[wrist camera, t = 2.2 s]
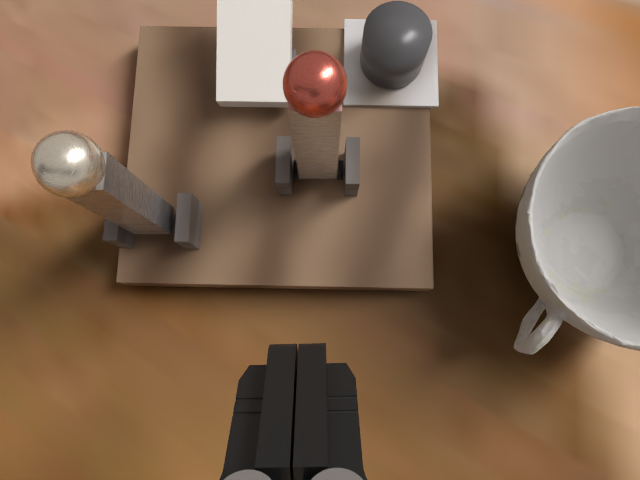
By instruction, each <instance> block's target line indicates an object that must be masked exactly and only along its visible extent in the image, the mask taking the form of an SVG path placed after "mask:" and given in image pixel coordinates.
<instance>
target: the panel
mask: <svg viewBox="0 0 640 480" xmlns="http://www.w3.org/2000/svg"><path fill="white" fill-rule="evenodd" d="M365 21H366V19H345V21H344V29H323V28H292V60H293V59H294V58H295V57H296V56H297V55H299V54H301V53H303V52H305V51H310V50H320V51H324V52H327V53H329V54H331V55H333V56H334V57H335V58H337V59H338V61H339V62H340V63H341V64H342V66H343V68H344V70H345V72H346V75H347V83H348V87H347V93H346V96H345V99H344V101H343V102H342V115H341V128H340V141H339V154H338V160H343V180H304V179H293V160H294V159H296V155H295V149H294V143H293V137H292V131H291V125H290V118H289V112H288V108H280V107H221V106H220V105H219V104H218V103H217V102H216V61H217V27H166V26H140V36H139V46H138V57H137V68H136V78H135V89H134V99H133V110H132V120H131V131H130V142H129V152H128V163H127V169H128V170H129V171H131V172H132V173H133V174H134V175H135V176H137V177H138V178H139V179H140V180H141V181H143V182H144V183H145V184H146V185H147V186H148V187H150V188H151V189H152V190H153V191H154V192H156V193H157V194H158V195H159V196H160V197H162V198H163V199H164V200H165V201H166V202H168V203H169V204H170V205H171V206H172V207H174V212H173V214H176V222H175V234H172V235H169V234H133V233H131V232H130V231H128V230H126V229H124V228H122V227H120V226H118V225H116V224H114V223H112V222H111V221H109V220H107V219H105V221H104V230H103V241H106V242H108V243H110V244H113V245H115V246H118V247H119V258H118V269H117V279H116V283H120V284H124V285H128V286H175V287H227V288H279V289H331V290H384V291H429V290H431V289H434V284H433V238H432V191H431V145H430V108H438V106H439V101H438V61H437V21H436V20H430V22H431V25H432V31H433V35H432V41H431V44H430V46H429V49H428V52H427V55H426V57H425V60H424V63H423V66H422V68H421V71H420V73H419V75H418V76H417V78H416V79H415V80H414V81H412V82H411V83H410V84H408V85H406V86H404V87H401V88H396V89H389V88H383V87H380V86H378V85H376V84H374V83H372V82H371V81H370V80H369V79H368V78H367V77H366V76H365V74H364V73H363V71H362V68H361V65H360V53H361V45H362V38H363V30H364V24H365Z"/></svg>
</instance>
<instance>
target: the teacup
mask: <svg viewBox="0 0 640 480" xmlns="http://www.w3.org/2000/svg"><path fill="white" fill-rule="evenodd" d="M516 246H517V252H518V257H519V260H520V263H521V266H522V269H523V271H524V273H525V276H526V278H527V280H528V281H529V283H530V285H531V286H532V288H533V289H534V291H535V292H536V293H537V295H538V296H539V298H538V300H537V302H536V303H535V305H534V306H533V307H532V308H531V309H530V310H529V311H528V312H527V314H526V315H525V317H524V318H523V320H522V323H521V326H520V329H519V333H518V335H517V338H516V340H515V343H514V349H515V350H517V351H518V352H521V353H525V354H534V353H536V352H537V351H538V350H540V349H541V348H542V347H543V346H544V345H546V344H547V343H548V342H549V341H550V339H551V338H552V337H553V335H554V334H555V333H556V331H557V330H558V329H559V327H560V326H561V324H562V321H563V320H564V321H565V322H567V323H569V324H570V325H572V326H573V327H575V328H577V329H579V330H581V331H582V332H584V333H586V334H588V335H590V336H592V337H595V338H597V339H599V340H602V341H605V342H608V343H611V344H614V345H617V346H620V347H624V348H628V349H633V350H639V351H640V107H628V108H622V109H617V110H612V111H608V112H605V113H602V114H599V115H596V116H594V117H590V118H587V119H585V120H583V121H581V122H579V123H578V124H577V125H576V126H574V127H572V128H571V129H569V130H568V131H567V132H566V133H565V134H564V135H563V136H562V137H561V138H560V139H559V140H558V141H557V142H556V143H555V144H554V145H553V146H552V147H551V149H550V150H549V151H548V152H547V153H546V154H545V155H544V156H543V158H542V159H541V161H540V162H539V164H538V165H537V167H536V168H535V170H534V171H533V173H532V174H531V176H530V178H529V180H528V182H527V184H526V186H525V188H524V191H523V194H522V197H521V200H520V203H519V207H518V210H517V217H516ZM545 309H546V312H547V316H546V318H545V319H544V320H543V321H542V323H541V324H540V325H539V326H538V327H537V328H536V329H535V330H534V331H533V332H532V333H531V331H532V329H533V327H534V326H535V324H536V322H537V321H538V318H539V316H540V315H541V314H542V312H543V311H544V310H545ZM530 333H531V334H530Z"/></svg>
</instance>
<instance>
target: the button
mask: <svg viewBox="0 0 640 480" xmlns="http://www.w3.org/2000/svg"><path fill="white" fill-rule="evenodd" d="M432 35H433V31H432V25H431V22H430V20H429V18H428V16H427V15H426V14H425V13H424V12H423V11H422V10H421V9H420V8H419V7H417V6H415V5H413V4H411V3H408V2H403V1H391V2H387V3H384V4H382V5H380V6H378V7H376V8H375V9H374V10H373V11H372V12H371V13H370V14H369V15H368V17H367V19H366V21H365V24H364V30H363V38H362V45H361V53H360V65H361V68H362V71H363V73H364V74H365V76H366V77H367V78H368V79H369V80H370V81H371V82H372V83H374V84H376V85H378V86H380V87H383V88H389V89H396V88H401V87H404V86H406V85H408V84H410V83H411V82H412V81H414V80H415V79H416V78H417V76H418V75H419V73H420V71H421V68H422V66H423V63H424V60H425V57H426V55H427V52H428V49H429V46H430V44H431V41H432Z"/></svg>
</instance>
